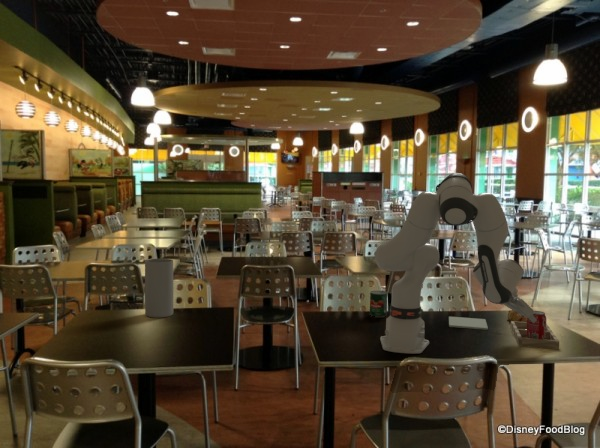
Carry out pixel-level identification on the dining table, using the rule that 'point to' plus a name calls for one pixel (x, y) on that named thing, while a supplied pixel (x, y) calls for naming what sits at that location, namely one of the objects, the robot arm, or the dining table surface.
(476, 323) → the coaster mat
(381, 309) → the canned tomato
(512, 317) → the croissant
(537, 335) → the soda can
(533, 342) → the drink caddy
